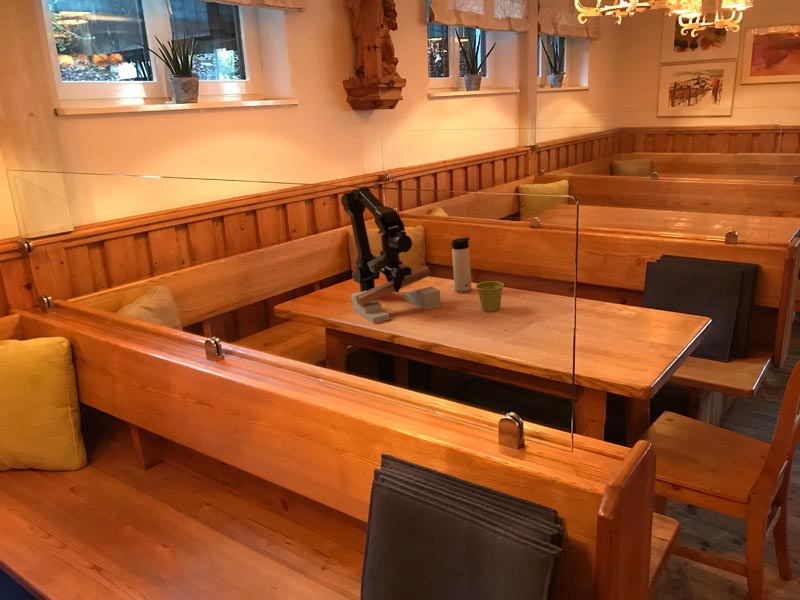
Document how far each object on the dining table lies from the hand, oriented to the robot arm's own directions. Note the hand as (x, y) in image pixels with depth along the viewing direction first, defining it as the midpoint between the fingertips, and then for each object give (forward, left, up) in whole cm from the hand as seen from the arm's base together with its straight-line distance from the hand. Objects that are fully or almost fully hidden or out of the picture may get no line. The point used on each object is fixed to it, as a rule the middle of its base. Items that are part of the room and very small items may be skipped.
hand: (394, 290), depth 237 cm
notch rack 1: (0, -10, -6) cm, 12 cm away
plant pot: (+23, +25, -7) cm, 34 cm away
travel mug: (-1, +29, -7) cm, 29 cm away
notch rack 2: (0, +10, -6) cm, 12 cm away
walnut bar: (0, 0, 0) cm, 1 cm away
